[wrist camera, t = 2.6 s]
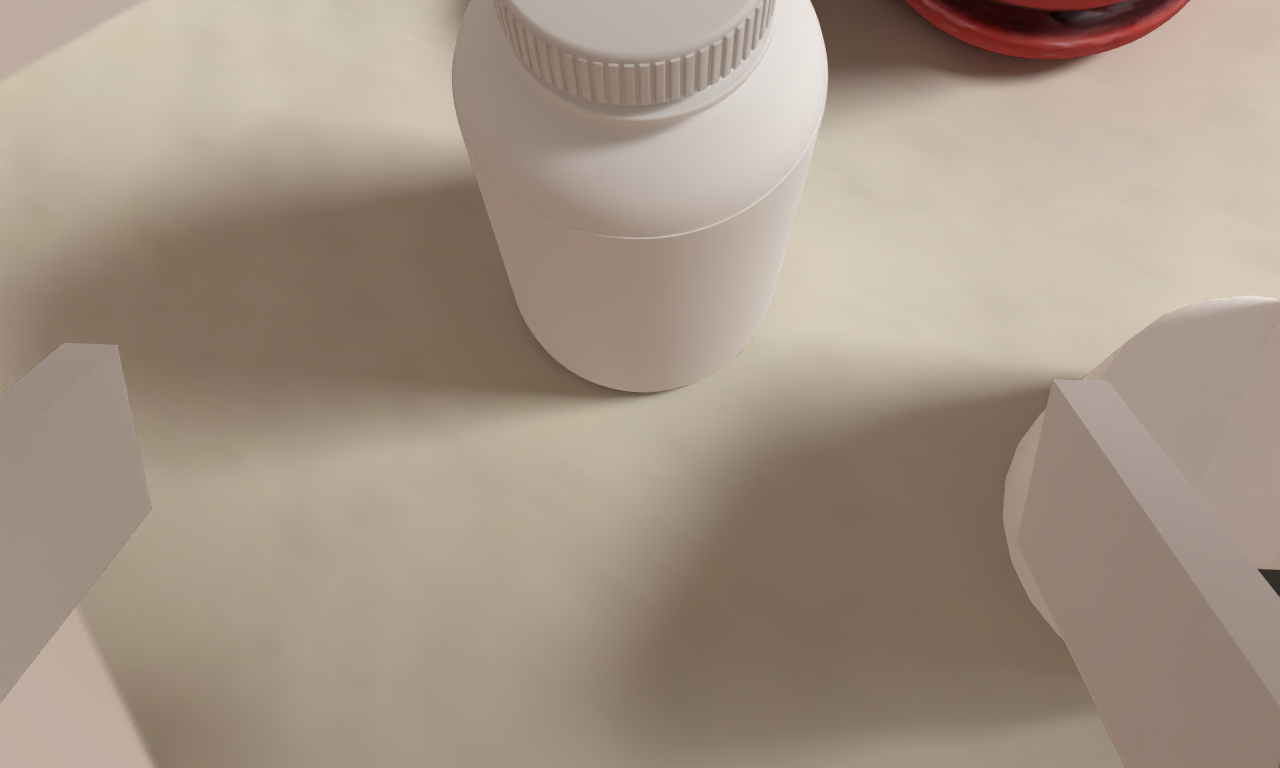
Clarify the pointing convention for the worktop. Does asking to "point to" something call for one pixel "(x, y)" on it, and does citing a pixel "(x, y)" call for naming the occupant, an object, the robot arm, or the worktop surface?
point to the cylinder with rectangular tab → (1194, 419)
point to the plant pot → (1048, 24)
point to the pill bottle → (641, 170)
